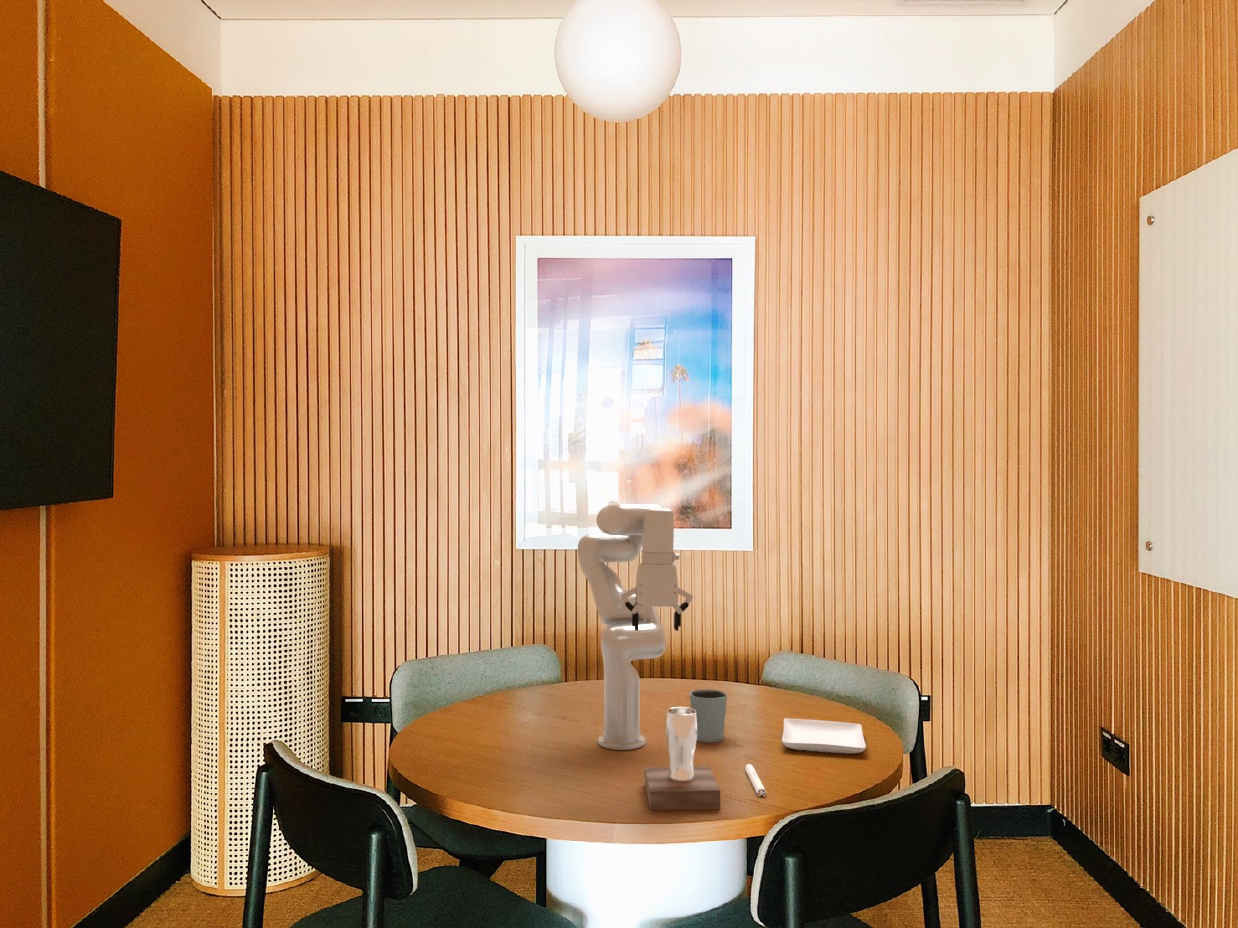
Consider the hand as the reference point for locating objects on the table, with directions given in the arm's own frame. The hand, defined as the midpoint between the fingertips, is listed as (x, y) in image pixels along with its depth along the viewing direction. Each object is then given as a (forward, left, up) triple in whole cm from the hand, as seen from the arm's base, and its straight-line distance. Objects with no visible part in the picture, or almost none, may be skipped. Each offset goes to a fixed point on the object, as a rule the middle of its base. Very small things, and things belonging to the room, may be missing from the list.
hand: (656, 629), depth 204 cm
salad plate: (-21, +47, -35) cm, 63 cm away
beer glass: (+15, +4, -31) cm, 34 cm away
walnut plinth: (+15, +4, -35) cm, 38 cm away
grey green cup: (-27, +17, -35) cm, 47 cm away
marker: (+7, +23, -35) cm, 42 cm away
